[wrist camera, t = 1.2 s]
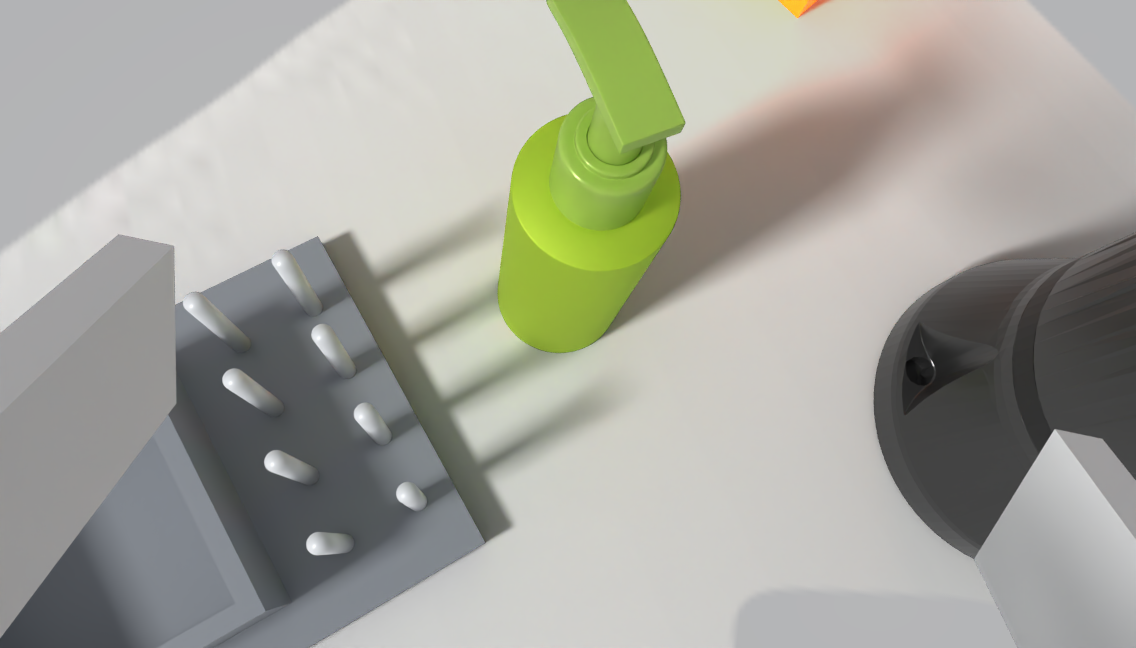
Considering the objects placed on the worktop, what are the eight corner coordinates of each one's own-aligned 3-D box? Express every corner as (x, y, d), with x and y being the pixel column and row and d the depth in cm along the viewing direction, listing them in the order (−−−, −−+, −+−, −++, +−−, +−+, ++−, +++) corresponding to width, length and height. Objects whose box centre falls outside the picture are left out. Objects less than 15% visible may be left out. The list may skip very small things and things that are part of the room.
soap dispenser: (579, 202, 44) (669, -67, 24) (637, 326, 42) (779, 146, 23) (470, 242, 43) (474, -6, 23) (526, 371, 41) (578, 221, 22)
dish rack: (322, 244, 42) (288, 174, 34) (484, 542, 39) (489, 542, 31) (-118, 457, 37) (-275, 434, 29) (34, 808, 35) (-92, 886, 27)
